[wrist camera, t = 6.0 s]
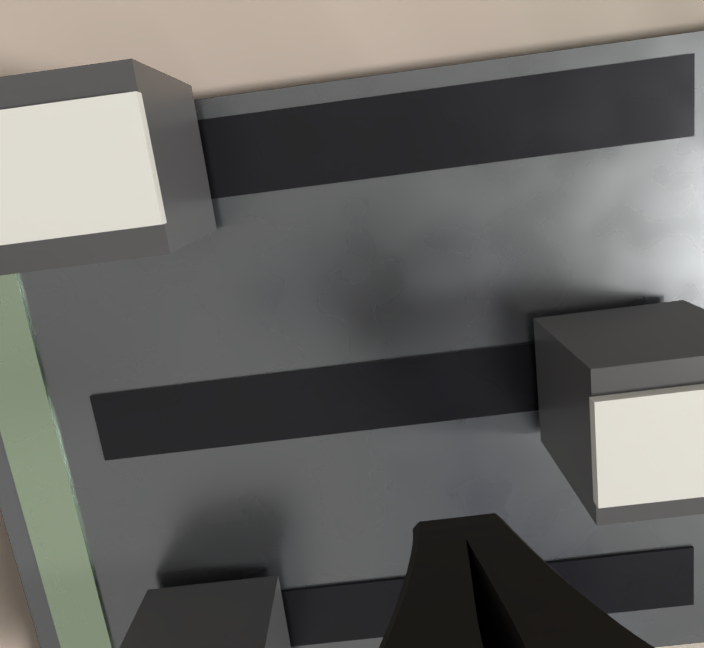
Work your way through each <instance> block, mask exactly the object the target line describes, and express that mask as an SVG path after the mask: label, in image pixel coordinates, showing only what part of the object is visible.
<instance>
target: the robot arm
mask: <svg viewBox="0 0 704 648" xmlns="http://www.w3.org/2000/svg"><path fill="white" fill-rule="evenodd" d="M379 648H654V647H653V646H651V645H650V644H648V643H647V642H645V641H644V640H642V639H641V638H639V637H638V636H636V635H635V634H633V633H632V632H631V631H629V630H628V629H626V628H625V627H624V626H622V625H621V624H619V623H618V622H617V621H616V620H614V619H613V618H612V617H610V616H609V615H608V614H607V613H605V612H604V611H603V610H601V609H600V608H599V607H598V606H596V605H595V604H594V603H593V602H591V601H590V600H589V599H588V598H587V597H585V596H584V595H583V594H582V593H580V592H579V591H578V590H577V589H576V588H575V587H574V586H572V585H571V584H570V583H569V582H568V581H567V580H566V579H564V578H563V577H562V576H561V575H560V574H559V573H558V572H556V571H555V570H554V569H553V568H552V567H551V566H550V565H549V564H548V563H546V562H545V561H544V560H543V559H542V558H541V557H540V556H539V555H538V554H537V553H536V552H535V551H534V550H533V549H532V548H531V547H530V546H529V545H528V544H527V543H526V542H525V541H524V540H523V539H522V538H521V537H520V536H519V535H518V534H517V533H516V532H515V531H514V530H513V529H512V528H511V527H510V526H509V525H508V524H507V523H506V522H505V521H504V520H503V519H502V518H501V517H499V516H498V515H497V514H496V513H491V514H482V515H473V516H464V517H455V518H447V519H438V520H429V521H420V522H418V523H417V525H416V526H415V527H414V528H413V543H412V550H411V556H410V560H409V564H408V569H407V573H406V576H405V579H404V582H403V585H402V589H401V592H400V595H399V598H398V601H397V604H396V607H395V610H394V612H393V615H392V617H391V620H390V622H389V625H388V627H387V629H386V632H385V634H384V637H383V639H382V642H381V644H380V646H379Z"/></svg>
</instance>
